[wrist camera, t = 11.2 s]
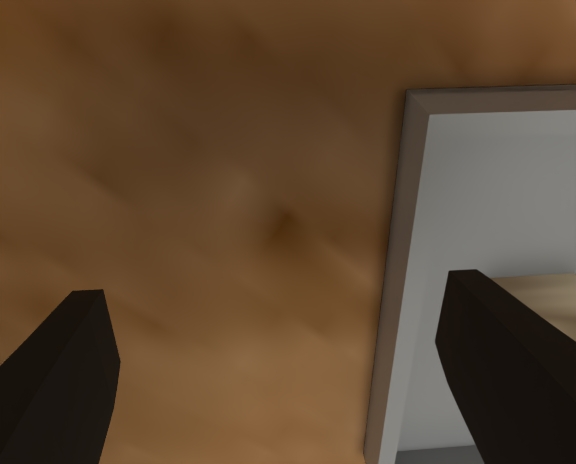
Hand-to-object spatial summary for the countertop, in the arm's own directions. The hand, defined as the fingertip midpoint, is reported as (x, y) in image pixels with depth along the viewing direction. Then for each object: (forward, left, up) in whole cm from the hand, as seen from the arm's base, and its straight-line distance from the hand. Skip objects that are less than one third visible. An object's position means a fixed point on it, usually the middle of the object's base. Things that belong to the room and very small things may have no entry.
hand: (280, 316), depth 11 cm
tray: (+11, -8, -9) cm, 16 cm away
